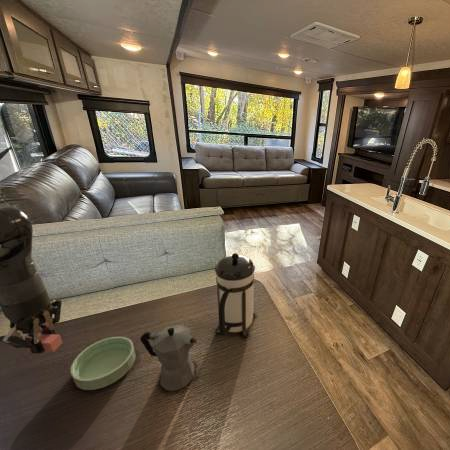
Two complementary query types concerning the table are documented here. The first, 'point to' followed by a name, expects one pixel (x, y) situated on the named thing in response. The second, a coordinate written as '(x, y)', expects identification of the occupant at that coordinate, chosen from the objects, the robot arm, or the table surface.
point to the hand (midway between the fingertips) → (45, 346)
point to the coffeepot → (172, 355)
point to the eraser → (49, 342)
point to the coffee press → (235, 293)
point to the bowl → (103, 363)
